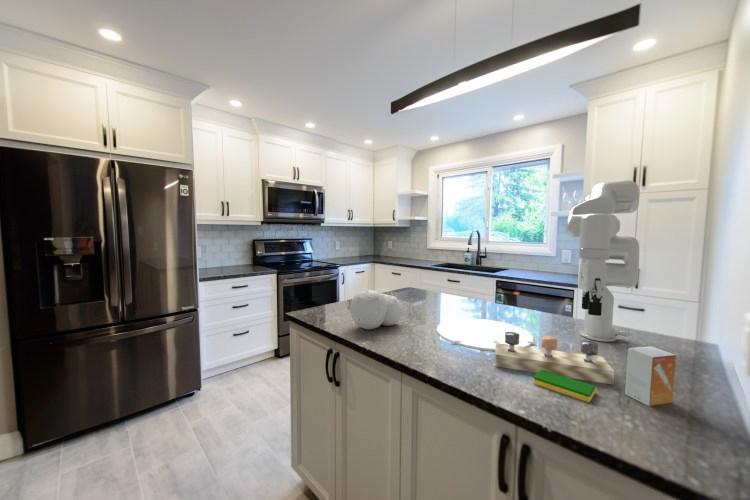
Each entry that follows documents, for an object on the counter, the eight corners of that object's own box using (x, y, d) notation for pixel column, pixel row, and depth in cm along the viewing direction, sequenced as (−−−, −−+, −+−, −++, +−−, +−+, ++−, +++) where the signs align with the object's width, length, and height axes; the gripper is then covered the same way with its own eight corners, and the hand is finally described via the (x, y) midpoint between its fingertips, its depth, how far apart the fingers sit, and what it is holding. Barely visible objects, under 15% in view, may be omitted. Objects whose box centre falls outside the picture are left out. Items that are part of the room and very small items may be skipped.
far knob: (518, 352, 105) (518, 332, 105) (519, 357, 101) (519, 336, 101) (504, 350, 107) (504, 331, 106) (504, 354, 103) (505, 335, 102)
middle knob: (554, 357, 101) (555, 336, 101) (557, 362, 97) (558, 341, 97) (539, 355, 103) (540, 335, 102) (541, 360, 99) (542, 339, 98)
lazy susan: (554, 353, 112) (555, 344, 112) (447, 352, 113) (448, 343, 113) (509, 321, 152) (509, 314, 152) (430, 320, 153) (430, 313, 153)
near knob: (594, 362, 97) (595, 341, 97) (599, 368, 93) (600, 346, 92) (578, 360, 99) (579, 339, 98) (581, 365, 95) (583, 344, 94)
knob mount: (601, 368, 99) (602, 356, 99) (613, 384, 89) (614, 371, 89) (495, 353, 111) (495, 343, 111) (495, 366, 101) (495, 354, 101)
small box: (649, 407, 78) (652, 357, 77) (624, 394, 84) (626, 347, 83) (673, 403, 80) (677, 354, 79) (647, 390, 86) (649, 345, 85)
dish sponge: (541, 376, 95) (541, 369, 95) (595, 394, 85) (595, 385, 85) (532, 384, 90) (533, 376, 90) (589, 404, 80) (589, 395, 80)
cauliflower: (416, 309, 144) (391, 270, 144) (386, 341, 127) (357, 297, 126) (389, 319, 159) (366, 283, 159) (358, 349, 141) (332, 309, 141)
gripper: (572, 252, 103) (570, 304, 104) (587, 256, 87) (584, 318, 88) (599, 253, 100) (596, 306, 101) (619, 257, 84) (615, 321, 85)
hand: (591, 311), depth 95 cm, fingers open, 6 cm apart
